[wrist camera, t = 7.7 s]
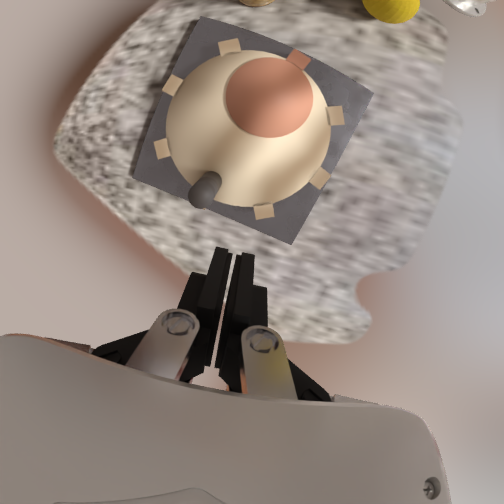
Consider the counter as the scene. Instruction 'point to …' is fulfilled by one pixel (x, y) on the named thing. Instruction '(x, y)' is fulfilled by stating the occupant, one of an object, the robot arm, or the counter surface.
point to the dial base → (326, 78)
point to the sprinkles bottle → (256, 2)
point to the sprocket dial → (248, 128)
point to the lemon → (392, 9)
